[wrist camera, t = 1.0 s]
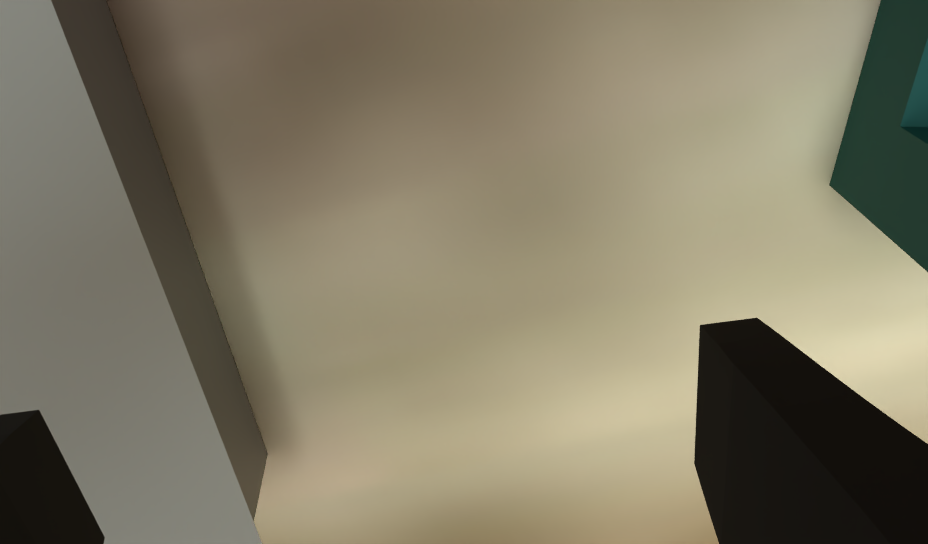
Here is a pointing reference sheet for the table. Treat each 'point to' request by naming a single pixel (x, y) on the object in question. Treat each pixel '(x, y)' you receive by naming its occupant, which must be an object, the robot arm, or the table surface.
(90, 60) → the cable duct
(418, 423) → the table surface
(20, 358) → the duct lid
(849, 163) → the bracket
